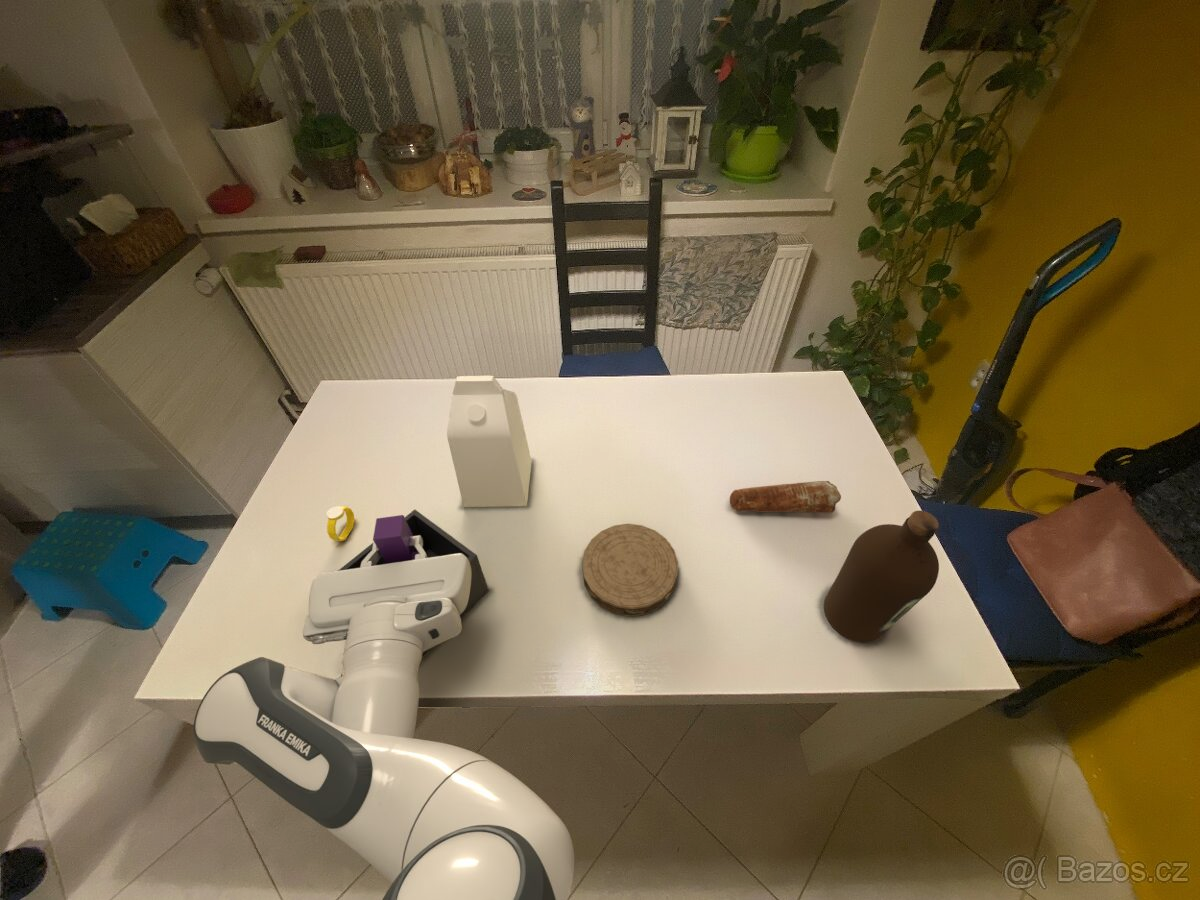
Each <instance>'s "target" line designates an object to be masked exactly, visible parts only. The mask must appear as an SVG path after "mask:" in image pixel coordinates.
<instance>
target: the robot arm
mask: <svg viewBox="0 0 1200 900" xmlns="http://www.w3.org/2000/svg"><path fill="white" fill-rule="evenodd" d="M409 540H410V541H409V547H410V549H411V551H412V553H414V552H418V554H416V555H415V560H410V561H403V562H396V563H389V564H382V565H376V563H377V562H378V561H379V559H380V558H381V557H383V556H382V555H381V553H380V551H379V550H378V548H377V546H376V544H375V543H373V542H372V543H373V547H372V551H371V552H370V553H369V554H368V555H367V556H366V557H365V559H364V560H363V561H362V562H361V567H360V568H355V569H348V570H341V571H338V570H336V571H335V570H334V571H329V572H328V571H327V572H322V573H319V574H318V575H317V576H316V577H315V578H314V579H313V580H312V582H311V585H310V591H309V599H308V615H307V616H306V618H305V620H304V623H303V627H302V637H303V639H304V640H305V641H307V642H310V643H311V644H312V645H322V644H326V643H329V642H341V641H345V645H344V651H343V656H342V666H343V674H342V675H341V676H340V677H338V678H335V679H333V678H330V677H326V676H323V675H319V674H316V673H312V672H308V671H304V670H301V669H297V668H293V667H291V666H286V665H285V664H284V663H280V662H279V661H275V660H272V659H269V658H267V657H263V656H259V657H257V658H254V659H251V660H248V661H247V662H244V663H241V664H240V665H238V666H236V667H234V668H232V669H231V670H229V671H227V672H225V673H223V674H222V675H221V676H220V677H218V678H217V679H216V680H215V681H214V682H213V683H212V685H211V686H210V687H209V688H208V689H207V691H206V692H205V694H204V695H203V697H202V699H201V701H200V703H199V705H198V707H197V710H196V713H195V716H194V720H193V728H192V730H193V736H194V741H195V744H196V747H197V750H198V752H199V754H200V756H201V758H202V759H203V761H204V762H205V763H207V764H213V765H214V764H215V765H239V766H240V767H242V768H243V769H244V770H246V771H247V772H248V773H250V775H252V776H253V777H254V778H256V780H258V781H259V782H261V783H262V784H263V785H264V786H265V787H267V788H269V790H271V791H272V792H273V793H275V794H276V795H278V796H279V797H280V798H281V799H283V800H284V801H285V802H287V803H288V804H290V805H291V806H292V807H294V808H295V809H297V810H298V811H300V812H301V813H303V814H305V815H306V816H308V817H309V818H310V819H312V820H313V821H315V822H316V823H317V824H319V825H320V826H322V827H323V828H324V829H325V830H327V831H328V833H330V834H332V835H333V836H334V837H336V838H337V839H339V840H340V841H341V842H343V843H344V844H345V845H347V846H348V847H350V848H351V849H352V850H353V851H355V852H356V853H357V854H358V855H359V856H361V857H362V858H363V859H364V860H365V861H366V862H368V864H370V865H371V866H372V867H373V868H374V869H376V870H377V871H378V872H379V873H380V874H381V875H382V876H384V877H385V878H386V880H388V881H389V882H390V883H391V885H390V886H389V888H388V889H387V890H386V892H385V894H384V896H382V897H383V898H382V899H381V900H569V897H570V894H571V890H572V886H573V881H574V877H575V876H574V875H575V851H574V845H573V840H572V837H571V834H570V832H569V830H568V828H567V826H566V825H565V823H564V821H563V820H562V819H561V817H559V815H557V813H555V811H554V810H553V809H552V808H551V807H550V805H548V804H547V803H546V802H545V801H544V800H543V799H542V798H541V797H540V796H539V795H538V794H537V793H535V791H533V790H532V789H531V788H530V787H529V786H528V785H526V784H525V783H524V782H523V781H521V780H520V779H519V778H517V777H516V776H514V775H513V774H512V773H510V772H509V771H508V770H506V769H505V768H503V767H501V766H500V765H498V764H497V763H495V762H493V761H492V760H490V759H489V758H486V757H485V756H483V755H481V754H479V753H477V752H474V751H472V750H469V749H466V748H463V747H459V746H456V745H454V744H449V743H445V742H440V741H435V740H434V741H433V740H426V739H421V738H415V733H416V727H417V721H418V720H417V719H418V710H419V699H420V685H419V681H418V671H419V668H420V665H421V662H422V659H423V658H422V653H423V652H424V651H426V650H428V649H430V648H432V647H433V648H434V647H436V646H437V645H440V644H442V643H444V642H446V641H448V640H451V639H453V638H455V637H457V636H458V635H460V634H461V632H462V628H463V627H462V619H461V618H460V614H461V613H462V612H463V611H464V610H465V608H466V606H467V603H468V599H469V594H470V587H471V573H472V572H471V566H470V563H469V560H468V558H467V557H466V556H465V555H463V554H462V553H457V554H451V555H444V556H437V557H430V558H428V557H427V555H426V553H425V551H424V550H423V540H422V538H421V536H420V535H419V536H412V537H410V539H409ZM433 648H432V649H433Z"/></svg>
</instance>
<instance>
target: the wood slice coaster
mask: <svg viewBox="0 0 1200 900" xmlns="http://www.w3.org/2000/svg"><path fill="white" fill-rule="evenodd" d="M581 568H582V570H581V571H582V577H583V584H584V587H585V589H586V592H587V593H588V595H589V596H590V598H591V599H592V600H593V601H594V602H595V603H596V604H597V605H598V606H599V607H601V608H602V609H603V610H606V611H607V612H610V613H612V614H615V615H617V616H624V617H632V618H633V617H639V616H645V615H648V614H651V613H652V612H654V611H656V610H658V609H660V608H661V607H663V605H664V604H665V603H666V602H667V601H668V600H669V599H670V598H671V596H672V594H673V592H674V589H675V587H676V584H677V579H678V568H679V561H678V558H677V555H676V551H675V549H674V547H673V546H672V545H671V543H670V542H669V541H668V539H667V538H666V537H664V536H663V535H662V534H660V533H659V532H658V531H657V530H655V529H653V528H650V527H647V526H645V525H643V524H633V523H623V524H616V525H612V526H610V527H608V528H605V529H603V530H601V531H600V532H599V533H597V534H596V535H595V536H593V538H591V539H590V541H589V543H588V544H587V545H586V547H585V549H584V551H583V557H582V560H581Z"/></svg>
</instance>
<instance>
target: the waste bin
mask: <svg viewBox="0 0 1200 900" xmlns="http://www.w3.org/2000/svg"><path fill="white" fill-rule="evenodd" d="M404 518H405V520H406V522H407V524H408V526H409V528H410V530H411V532H412V534H413V536H419V535H420V536H421V538H422V540H423V550H424V551H425V553H426V555H427V557H428V558H430V557H437V556H444V555H451V554H457V553H462V554H463V555H465V556H466V557H467V558H468V560H469V563H470V566H471V572H472V573H471V587H470V594H469V599H468V603H467V606H466V608H465V610H464V611H463V612H462V613H461V614H460V618H461V620H462V619H463V618H464V617H465V616H466V615H467V614H468V613H469V612H470V611H471V610H472V609H473V608H474V607H475V606H476V605H477V604H478V603H479V601H481V599H482V598H484V596H485V595H487V594H488V592H489V591H490V590H489V587H488V584H487V583H488V582H487V581H486V577H485V575H484V571H483V568H482V565H481V564H480V559H479V557H478V555H477V554H476V553H475V552H473V550H471V549H470V548H468V547H467V546H465V544H463V543H462V542H460V541H459V540H457V539H456V538H454V537H453V536H452V535H451V534H449V533H448V532H447V531H445V530H444V529H442V528H441V527H440V526H438V525H437V524H436V523H434V522H433V521H432V520H431V519H429V518H428V517H426V516H425V515H423V514H422V513H420V512H419V511H418V510H417V509H413V510H412V511H411V512H409V513H408V514H407V515H406V516H404ZM373 543H374V541H373V542H372V543H370V544H369V545H368V546H367V547H365V548H364V549H363V550H362V551H361V552H359V553H358V554H357V555H356V556H354V557H353V558H352V559H350V560H349V561H348V562H347V563H345V564H344V565H343V566H342V567H340V569H338V570H337V571H341V570H348V569H355V568H360V567H361V562H362V561H363V560H364V559H365V557H366V556H367V555H368V554H369V553H370V552H371V551H372V547H373ZM382 564H387V563H386V562H385V560H384V558H383V557H381V558H380V559H379V561H378V562H377V563H376V565H382ZM433 648H434V647H432V648H430V649H428V650H426V651H424V652H423V653H422V659H424V657H425V656H426V655H427V654H428V653H429V652H430V651H432V649H433Z"/></svg>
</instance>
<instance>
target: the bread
mask: <svg viewBox="0 0 1200 900" xmlns="http://www.w3.org/2000/svg"><path fill="white" fill-rule="evenodd" d="M841 499H842V495H841V493H840V491H839V490H838V488H837V486H836V485H835V484H834V483H831V482H830V481H829V480H817V481H805V482H795V483H784V484H773V485H766V486H765V485H763V486H754V487H745V488H740V489H734V490H733V491H732V492H731V494H730V495H729V504H730V507H731V508H732V509H733V510H734V511H736V512H760V513H761V512H764V513H766V512H769V513H771V512H772V513H775V512H776V513H779V512H780V513H786V512H787V513H789V512H790V513H818V514H822V513H823V514H825V513H826V514H830V513H831V514H832V513H834V512H835V510H836V505H837V504H838V503H839V502H840V501H841Z"/></svg>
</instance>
